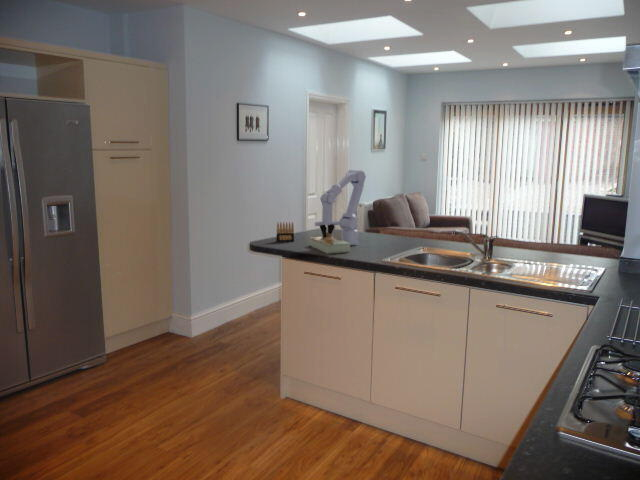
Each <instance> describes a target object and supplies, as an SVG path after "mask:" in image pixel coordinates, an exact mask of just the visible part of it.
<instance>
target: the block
mask: <svg viewBox="0 0 640 480" xmlns="http://www.w3.org/2000/svg"><path fill="white" fill-rule="evenodd" d="M324 243H325V244H327V245H333V239H332V238H329V237H327V238H324Z"/></svg>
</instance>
